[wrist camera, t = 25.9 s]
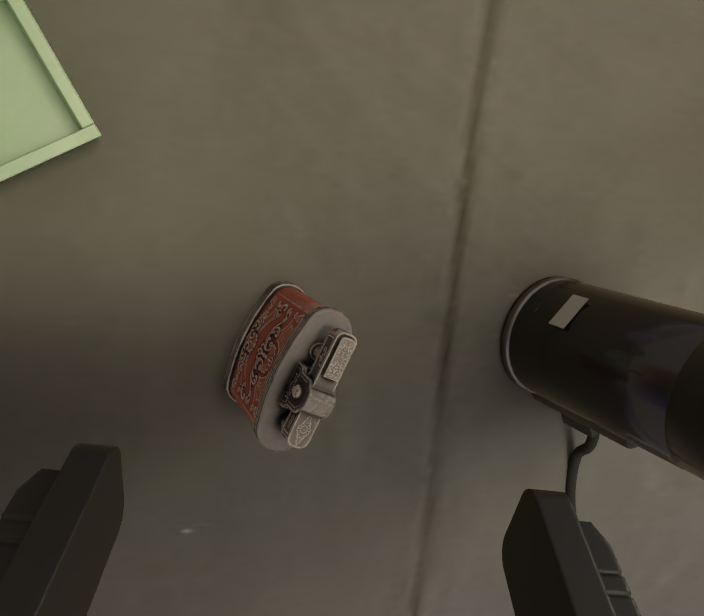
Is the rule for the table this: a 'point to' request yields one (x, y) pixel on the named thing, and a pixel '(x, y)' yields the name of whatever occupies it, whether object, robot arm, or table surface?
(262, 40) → the table surface
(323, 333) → the lighter
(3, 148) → the organizer
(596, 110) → the table surface
